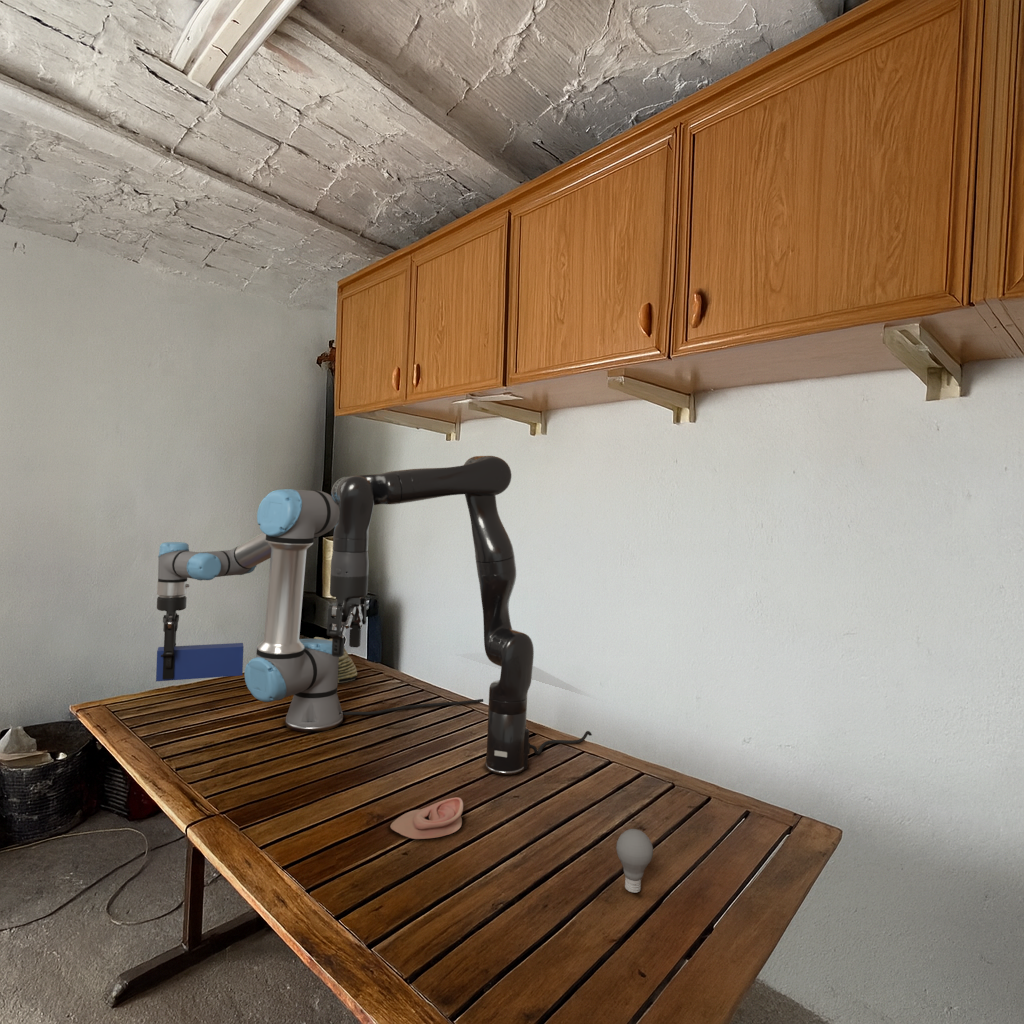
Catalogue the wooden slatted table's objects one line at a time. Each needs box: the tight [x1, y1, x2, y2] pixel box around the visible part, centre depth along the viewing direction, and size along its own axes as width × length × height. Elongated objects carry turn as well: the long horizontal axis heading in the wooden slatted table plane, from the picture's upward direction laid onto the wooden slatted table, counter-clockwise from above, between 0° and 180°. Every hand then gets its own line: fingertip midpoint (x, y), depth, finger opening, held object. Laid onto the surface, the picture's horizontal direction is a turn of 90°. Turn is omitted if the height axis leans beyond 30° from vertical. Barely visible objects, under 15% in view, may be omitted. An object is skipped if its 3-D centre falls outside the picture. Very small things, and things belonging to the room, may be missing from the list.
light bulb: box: [615, 828, 654, 894], centre depth 106 cm, size 6×6×10 cm
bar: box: [155, 642, 244, 682], centre depth 187 cm, size 23×5×9 cm, turn 115°
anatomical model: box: [390, 797, 464, 840], centre depth 124 cm, size 13×4×12 cm
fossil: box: [313, 636, 359, 684], centre depth 215 cm, size 9×18×15 cm, turn 132°
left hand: (168, 675), depth 183 cm, fingers closed on bar, 5 cm apart
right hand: (346, 651), depth 130 cm, fingers open, 8 cm apart
